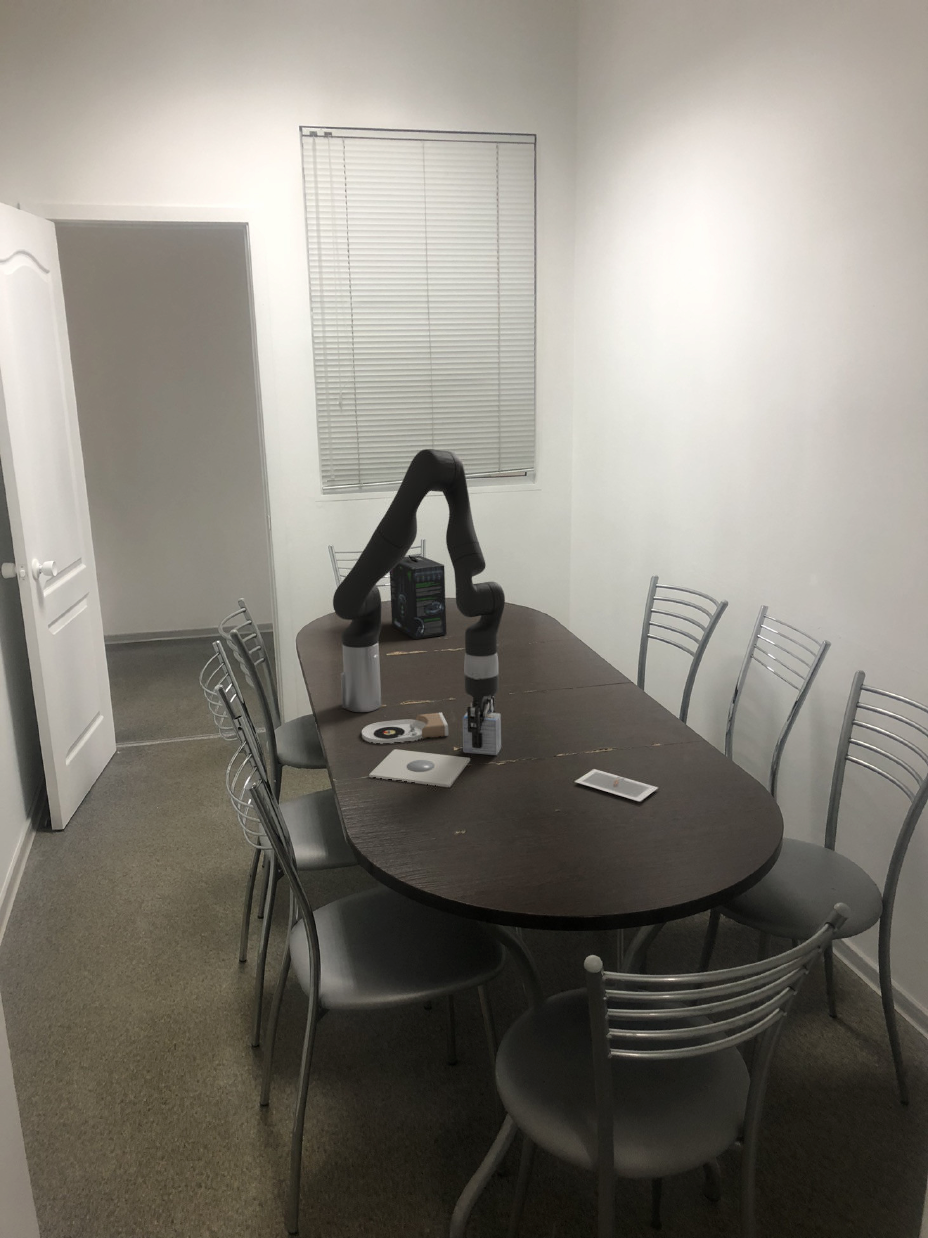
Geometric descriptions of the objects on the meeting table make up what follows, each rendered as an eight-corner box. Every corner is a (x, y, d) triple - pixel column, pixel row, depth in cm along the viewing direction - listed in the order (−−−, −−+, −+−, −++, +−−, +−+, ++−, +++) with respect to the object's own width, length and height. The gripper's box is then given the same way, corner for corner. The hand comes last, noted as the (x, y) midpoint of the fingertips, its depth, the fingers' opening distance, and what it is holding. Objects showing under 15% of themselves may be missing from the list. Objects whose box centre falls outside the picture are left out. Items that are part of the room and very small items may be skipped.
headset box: (390, 624, 306) (387, 551, 300) (422, 620, 311) (420, 548, 305) (414, 640, 287) (411, 562, 280) (447, 635, 291) (446, 559, 285)
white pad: (369, 776, 185) (369, 773, 185) (394, 751, 198) (394, 748, 198) (449, 787, 180) (449, 784, 180) (470, 760, 193) (470, 757, 193)
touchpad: (639, 806, 171) (640, 796, 171) (574, 786, 180) (574, 776, 180) (658, 792, 177) (658, 782, 177) (594, 773, 186) (594, 764, 186)
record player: (449, 726, 205) (363, 735, 201) (449, 739, 206) (364, 748, 202) (440, 709, 216) (359, 717, 212) (440, 721, 217) (360, 729, 213)
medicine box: (501, 748, 199) (501, 712, 197) (496, 756, 195) (496, 719, 193) (468, 745, 201) (467, 710, 199) (462, 753, 197) (462, 717, 195)
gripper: (474, 660, 201) (475, 728, 205) (455, 680, 188) (456, 751, 192) (506, 663, 199) (506, 731, 203) (488, 683, 185) (489, 755, 190)
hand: (482, 741), depth 197 cm, fingers open, 7 cm apart
